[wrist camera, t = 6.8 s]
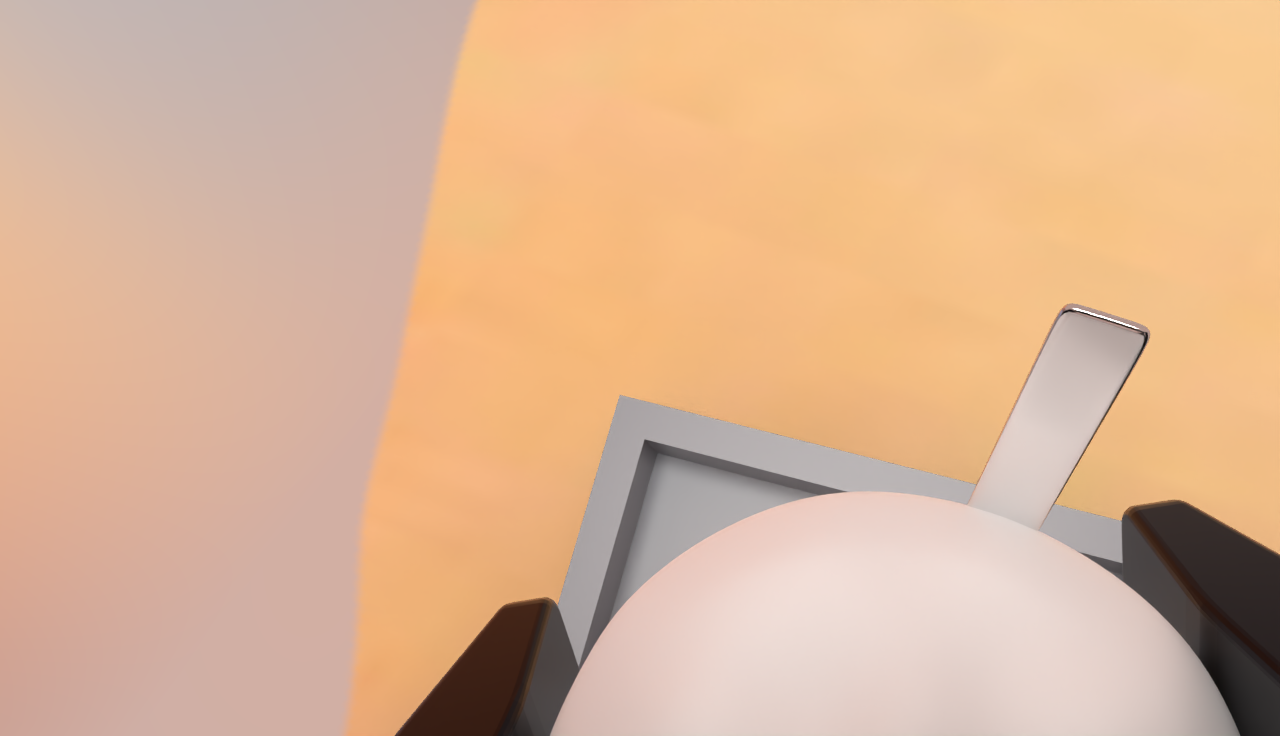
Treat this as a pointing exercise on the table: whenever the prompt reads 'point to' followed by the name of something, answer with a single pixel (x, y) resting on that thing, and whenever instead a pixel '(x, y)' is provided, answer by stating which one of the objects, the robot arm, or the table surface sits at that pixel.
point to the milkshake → (912, 604)
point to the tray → (730, 502)
